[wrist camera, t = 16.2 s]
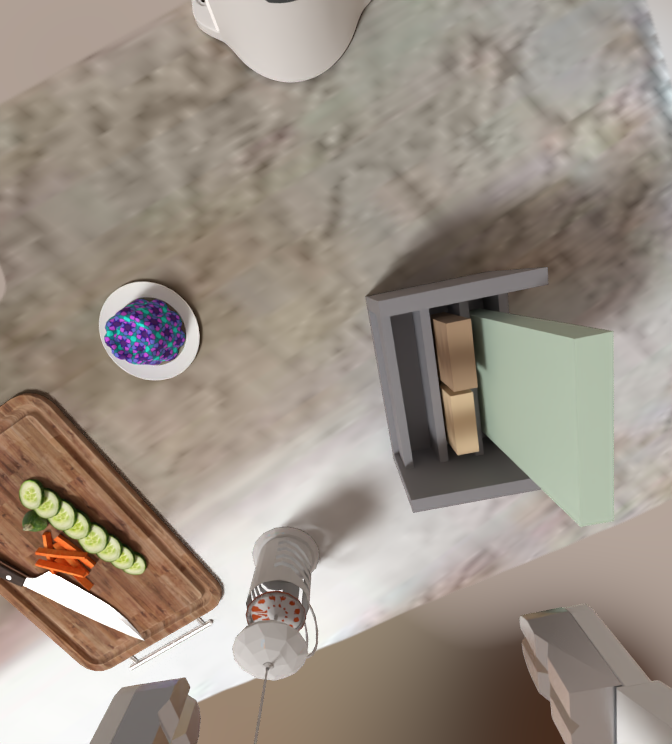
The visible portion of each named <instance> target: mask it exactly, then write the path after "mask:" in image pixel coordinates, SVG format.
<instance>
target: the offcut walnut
mask: <svg viewBox="0 0 672 744" xmlns="http://www.w3.org/2000/svg"><path fill="white" fill-rule="evenodd" d="M430 322H431V329H432V337H433V344H434V352H435V360H436V367H437V375H438V378H439V379H440V380H441V381H442V382H443V383H445V384H446V385H447V386H448V387H449V388H450V389H451V390H453V391H454V392H456V391H462V390H467V389H472V388H477V387H478V384H477V374H476V364H475V354H474V344H473V335H472V325H471V319H470V318H466V317H462V316H458V315H454V314H450V313H446V312H442V313H437V314H432V315H430Z"/></svg>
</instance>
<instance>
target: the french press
mask: <svg viewBox="0 0 672 744" xmlns="http://www.w3.org/2000/svg"><path fill="white" fill-rule="evenodd" d="M252 555H253V561H254V565H255V566H256V567H255V571H254V575H253V579H252V583H251V587H250V590H249V594H248V598H247V602H246V606H247V612H246V618H247V623H248V626H246V627H245V628H244V629H243V630H242V632H241V633H240V634H239V635H238V636H237V637H236V638H235V641H234V644H233V648H232V650H233V655H234V660H235V661H236V662H237V663H238V665H239V666H240V667H241V669H242V670H244V671H246V672H247V673H249V674H251V675H252V676H254V677H256V678H260V679H264V685H263V692H262V698H261V704H260V709H259V715H258V722H257V728H256V734H255V740H254V744H256V742H257V736H258V730H259V724H260V718H261V711H262V705H263V699H264V692H265V687H266V680H278V679H282V678H285V677H287V676H290V675H292V674H294V673H296V672H297V671H298V670H299V669H300V668H301V667H302V666H303V665H304V663H305V660H306V658H309V657H311V656H312V655H314V653H315V651H316V649H317V644H318V628H317V622H316V617H315V614H314V612H313V609H312V607H311V605H310V604H309V601H310V585H311V573H312V572H313V571H314V570H315V569H316V566H317V563H318V560H319V551H318V546H317V545H316V543H315V542H314V540H313V539H312V537H311V536H309V535H308V534H306V533H305V532H303V531H302V530H299V529H295V528H291V527H280V528H274V529H272V530H270V531H268V532H265V533H263V534H262V535H261V537H260V538H259V539H258V540H257V541H256V542H255V545H254V548H253V552H252ZM302 579H304V582H303V580H302ZM261 584H263V585H264V586H266V587H267V588H268V589H270V590H276V591H271V592H267V591H266V590H264V589H263V588H262V587H261ZM258 585H259V588H260V591H261V592H262V593H263V594H261V595H260V594H259V591H258V589H257V586H258ZM299 587H300V588H302V590H303V596H302V604H301V603H300V601H299V600H298V596H299ZM254 588H255V590H256V593H257V597H255V593H254ZM277 590H283V592H281V591H277ZM251 591H252V595H253V598H254V600H253V601H252V599H251ZM309 608H310V610H311V612H312V615H313V617H314V621H315V626H316V645H315V647H314V650H313V651H312V653H311V654H309V655H308V651H307V648H308V634H307V628H306V623H305V620H306V615H307V612H308V610H309ZM303 626H305V632H306V641H305V640H304V639H303V637H302V636H301V634H300V633H299V631H300V630H301V629H302V628H303ZM307 655H308V656H307Z"/></svg>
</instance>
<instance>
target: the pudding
mask: <svg viewBox="0 0 672 744" xmlns="http://www.w3.org/2000/svg"><path fill="white" fill-rule="evenodd" d="M142 297H151V298H157V299H160V300H162V301H164V302H166V303H168V304H169V305H171V306H172V307H173V308H174V309H175V310H176V311H177V312H178V313H179V315H180V316H181V318H182V320H183V322H184V325H185V328H186V343H185V346H184V349H183V351H182V352H181V354H180V355H179V356H178V357H177V358H176V356H177V355H178V348H179V347H181V346H182V345H183V344H184V342H185V334H184V332H183V331H182V330H181V325H182V321H181V318H180V316H179V315H178V314H177V313H176V312H173V311H170V310H169V309H168V306H167V304H165V303H164V302H162V301H160V300H153V301H151V302H148V301H146V300H145V299H138V298H142ZM135 299H137V300H135ZM133 300H135V301H133ZM131 301H133V302H132V303H130V304H129V305H127V304H128V303H129V302H131ZM126 305H127V306H126ZM125 306H126V307H125ZM99 332H100V337H101V340H102V343H103V345H104V348H105V349H106V351H107V353H108V355H109V356H110V357H111V358H112V360H113V361H114V362H115V363H116V364H117V365H118V366H119V367H121V368H122V369H123V370H125V371H126V372H128V373H130V374H132V375H134V376H136V377H139V378H143V379H147V380H164V379H169V378H172V377H174V376H177V375H178V374H180V373H181V372H183V371H184V370H185V369H186V368H187V367H188V366H189V365H190V364H191V363H192V361H193V360H194V358H195V356H196V354H197V351H198V347H199V338H200V334H199V327H198V323H197V320H196V317H195V315H194V313H193V311H192V310H191V308H190V307H189V305H188V304H187V303H186V302H185V301H184V299H183V298H182V297H181V296H179V295H178V294H177V293H175V292H174V291H173V290H171V289H169V288H167V287H165V286H163V285H160V284H157V283H152V282H134V283H129V284H126V285H124V286H122V287H120V288H118V289H117V290H116V291H114V292H113V293H112V294H111V295H110V296H109V297H108V298H107V300H106V302H105V303H104V305H103V307H102V310H101V313H100V318H99ZM175 358H176V359H175ZM173 359H175V360H173ZM170 360H173V361H172V362H170V363H167V364H165V365H159V366H153V365H156V364H160V363H161V362H162V361H170Z"/></svg>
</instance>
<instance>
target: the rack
mask: <svg viewBox="0 0 672 744" xmlns="http://www.w3.org/2000/svg"><path fill="white" fill-rule="evenodd" d="M543 285H548V267H541V268H527V269H514V270H500V271H488V272H483V273H479V274H474V275H469V276H464V277H459V278H454V279H449V280H444V281H439V282H434V283H430V284H425V285H420V286H415V287H410V288H405V289H400V290H395V291H390V292H385V293H381V294H376V295H371V296H366V303H367V309H368V314H369V320H370V326H371V331H372V337H373V343H374V349H375V354H376V360H377V366H378V372H379V377H380V383H381V389H382V395H383V400H384V406H385V412H386V417H387V423H388V429H389V435H390V440H391V446H392V452H393V458H394V461H395V464H396V467H397V469H398V472H399V475H400V478H401V480H402V483H403V486H404V489H405V491H406V494H407V497H408V500H409V502H410V505H411V508H412V511H413V513H415V512H420V511H426V510H431V509H437V508H442V507H448V506H453V505H459V504H464V503H470V502H475V501H480V500H486V499H491V498H497V497H502V496H508V495H513V494H519V493H524V492H530V491H535V490H541V488H540V487H539V486H538V485H537V484H536V483H535V482H534V481H533V480H532V479H531V478H530V477H529V476H528V475H527V474H526V473H525V472H524V471H523V470H521V469H520V468H519V467H518V466H517V465H516V464H515V463H514V462H513V461H512V460H511V459H510V458H509V457H508V456H507V455H506V454H505V453H504V452H503V451H502V450H501V449H500V448H499V447H498V446H497V445H496V444H495V443H494V442H493V441H492V440H491V439H490V438H489V437H488V436H487V435H486V434H485V433H484V432H482V431H481V422H480V412H479V402H478V393H477V388H472V389H470V390H471V391H472V392H473V397H474V407H475V416H476V425H477V435H478V444H479V452H473V453H468V454H463V455H457V454H456V452H455V451H454V450H453V448H452V447H451V446H450V444H449V443H448V442H447V440H446V436H445V428H444V421H443V413H442V406H441V398H440V390H439V383H438V379H439V378H438V375H437V367H436V360H435V352H434V344H433V337H432V329H431V322H430V315H432V314H437V313H442V312H446V313H450V314H454V315H458V316H462V317H466V318H470V315H469V311H471V310H475V309H485V310H491V311H497V312H503V313H509V305H508V292H513V291H518V290H523V289H528V288H533V287H538V286H543Z"/></svg>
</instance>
